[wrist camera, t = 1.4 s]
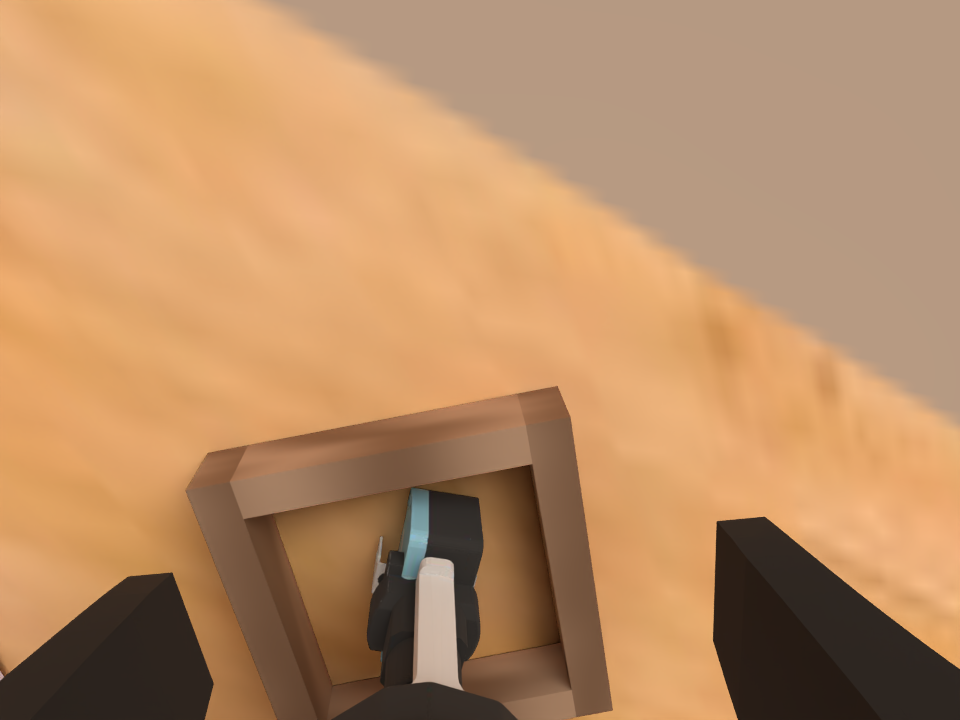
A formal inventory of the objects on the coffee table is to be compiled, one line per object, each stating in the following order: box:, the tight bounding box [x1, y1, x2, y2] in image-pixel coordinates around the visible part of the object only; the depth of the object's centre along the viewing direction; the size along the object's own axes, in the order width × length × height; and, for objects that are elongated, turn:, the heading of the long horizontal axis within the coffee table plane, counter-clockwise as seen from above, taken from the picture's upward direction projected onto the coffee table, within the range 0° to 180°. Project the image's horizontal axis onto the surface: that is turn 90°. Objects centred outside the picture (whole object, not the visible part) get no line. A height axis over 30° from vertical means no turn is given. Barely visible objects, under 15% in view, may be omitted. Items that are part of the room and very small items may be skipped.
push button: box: [331, 487, 518, 720], centre depth 18 cm, size 7×5×10 cm
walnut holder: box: [186, 386, 613, 720], centre depth 21 cm, size 10×11×2 cm
